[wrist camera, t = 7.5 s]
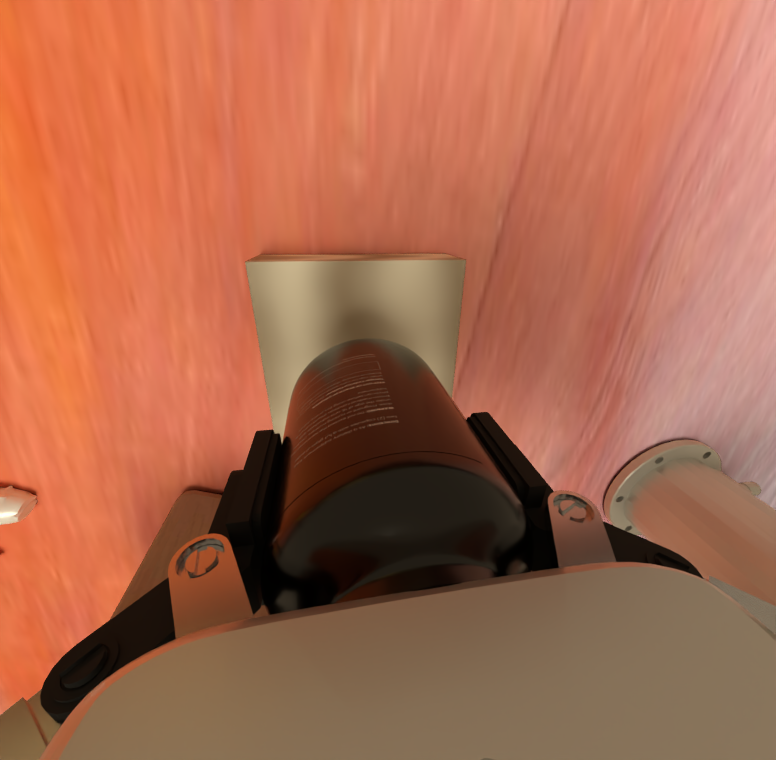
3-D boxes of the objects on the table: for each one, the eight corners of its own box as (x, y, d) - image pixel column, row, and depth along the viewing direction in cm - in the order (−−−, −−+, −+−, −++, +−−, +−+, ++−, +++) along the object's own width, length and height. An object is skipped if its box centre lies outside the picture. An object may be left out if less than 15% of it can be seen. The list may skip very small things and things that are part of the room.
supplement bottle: (288, 460, 16) (211, 920, 6) (294, 324, 13) (166, 732, 3) (422, 463, 18) (563, 834, 7) (453, 342, 15) (764, 654, 4)
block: (183, 482, 27) (-99, 979, 9) (303, 504, 30) (262, 915, 12) (164, 563, 31) (-67, 1038, 13) (274, 576, 34) (208, 978, 16)
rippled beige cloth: (444, 253, 22) (466, 259, 19) (433, 407, 28) (448, 434, 24) (259, 254, 21) (245, 261, 17) (284, 417, 26) (276, 449, 22)
